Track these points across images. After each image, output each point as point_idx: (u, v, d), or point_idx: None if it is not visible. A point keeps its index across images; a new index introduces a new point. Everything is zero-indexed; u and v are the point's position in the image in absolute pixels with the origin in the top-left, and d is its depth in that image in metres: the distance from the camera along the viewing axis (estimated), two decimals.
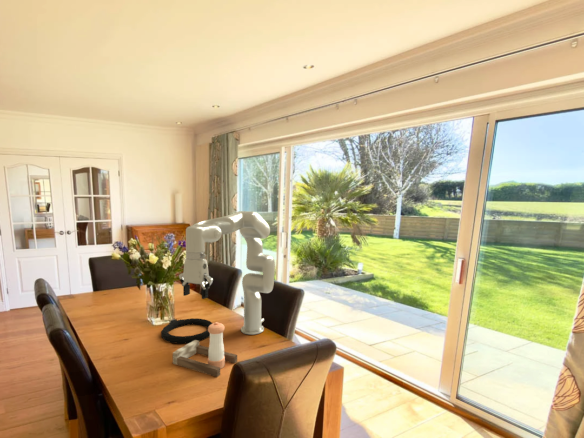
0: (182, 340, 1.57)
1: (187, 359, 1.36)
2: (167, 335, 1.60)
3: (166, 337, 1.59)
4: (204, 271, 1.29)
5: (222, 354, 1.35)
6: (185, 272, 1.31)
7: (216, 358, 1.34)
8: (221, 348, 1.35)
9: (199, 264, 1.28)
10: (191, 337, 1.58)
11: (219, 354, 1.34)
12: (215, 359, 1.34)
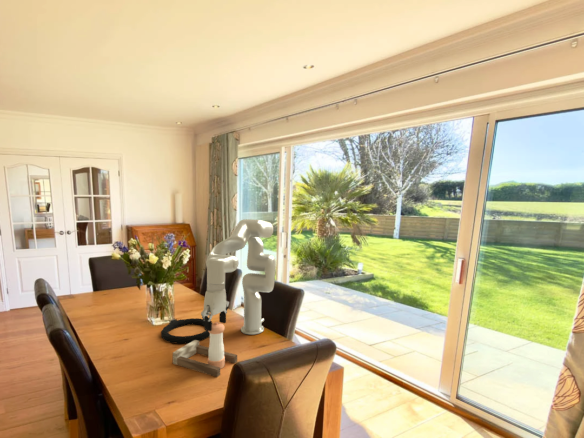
0: (182, 340, 1.57)
1: (187, 359, 1.36)
2: (167, 335, 1.60)
3: (166, 337, 1.59)
4: None
5: (222, 354, 1.35)
6: (215, 305, 1.31)
7: (216, 358, 1.34)
8: (221, 348, 1.35)
9: (225, 291, 1.38)
10: (191, 337, 1.58)
11: (219, 354, 1.34)
12: (215, 359, 1.34)
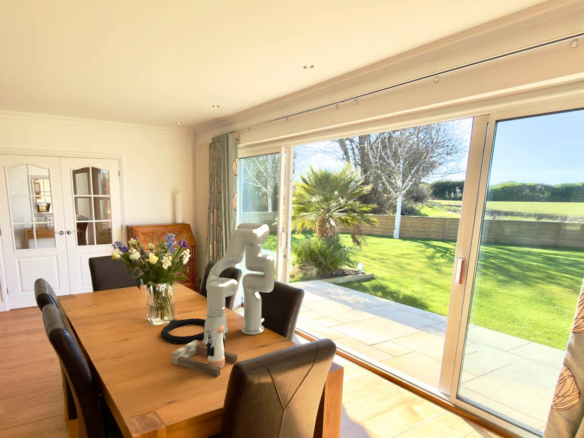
0: (182, 340, 1.57)
1: (187, 359, 1.36)
2: (167, 335, 1.60)
3: (166, 337, 1.59)
4: None
5: (222, 354, 1.35)
6: (215, 330, 1.32)
7: (216, 358, 1.34)
8: (221, 348, 1.35)
9: (225, 315, 1.38)
10: (191, 337, 1.58)
11: (219, 354, 1.34)
12: (215, 359, 1.34)
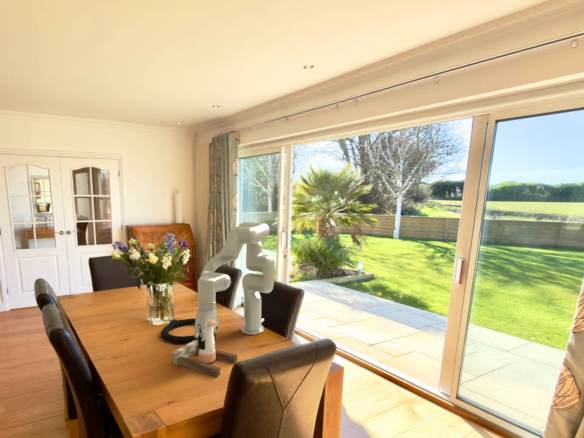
0: (182, 340, 1.57)
1: (187, 359, 1.36)
2: (167, 335, 1.60)
3: (166, 337, 1.59)
4: None
5: (213, 347, 1.38)
6: (206, 324, 1.34)
7: (207, 351, 1.36)
8: (212, 341, 1.37)
9: None
10: (191, 337, 1.58)
11: (210, 347, 1.36)
12: (206, 352, 1.36)
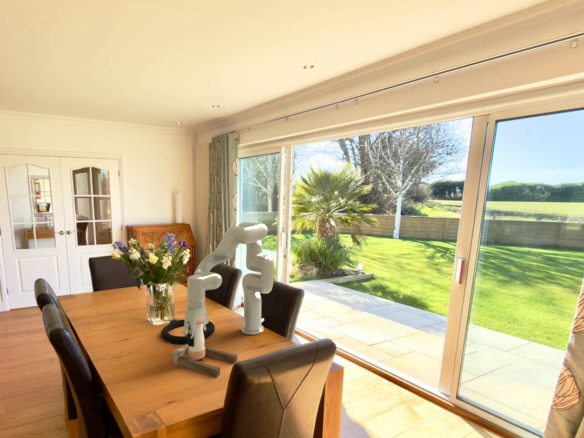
0: (182, 340, 1.57)
1: (187, 359, 1.36)
2: (167, 335, 1.60)
3: (166, 337, 1.59)
4: None
5: (202, 344, 1.40)
6: (195, 322, 1.37)
7: (196, 348, 1.38)
8: (201, 339, 1.40)
9: (205, 307, 1.43)
10: None
11: (199, 344, 1.39)
12: (195, 349, 1.38)
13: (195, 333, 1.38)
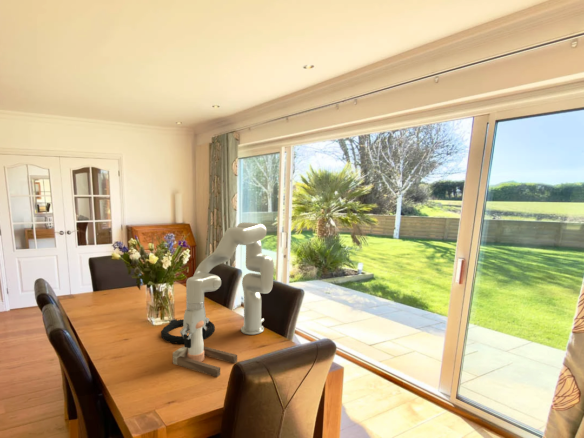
0: (182, 340, 1.57)
1: (187, 359, 1.36)
2: (167, 335, 1.60)
3: (166, 337, 1.59)
4: None
5: (201, 348, 1.41)
6: (194, 323, 1.37)
7: (195, 352, 1.39)
8: (200, 342, 1.40)
9: (204, 309, 1.43)
10: None
11: (198, 348, 1.39)
12: (194, 353, 1.39)
13: (194, 337, 1.39)
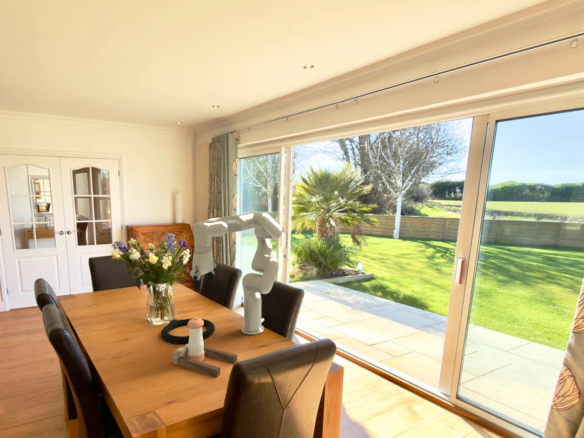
0: (182, 340, 1.57)
1: (187, 359, 1.36)
2: (167, 335, 1.60)
3: (166, 337, 1.59)
4: None
5: (201, 348, 1.40)
6: (202, 265, 1.42)
7: (195, 352, 1.39)
8: (200, 342, 1.40)
9: None
10: None
11: (198, 348, 1.39)
12: (194, 353, 1.39)
13: (194, 337, 1.39)
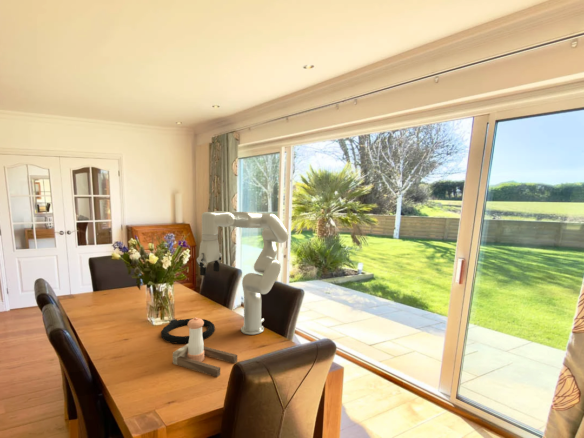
0: (182, 340, 1.57)
1: (187, 359, 1.36)
2: (167, 335, 1.60)
3: (166, 337, 1.59)
4: None
5: (201, 348, 1.41)
6: (209, 253, 1.48)
7: (195, 352, 1.39)
8: (200, 342, 1.40)
9: (218, 243, 1.54)
10: None
11: (198, 348, 1.39)
12: (194, 353, 1.39)
13: (194, 337, 1.39)
